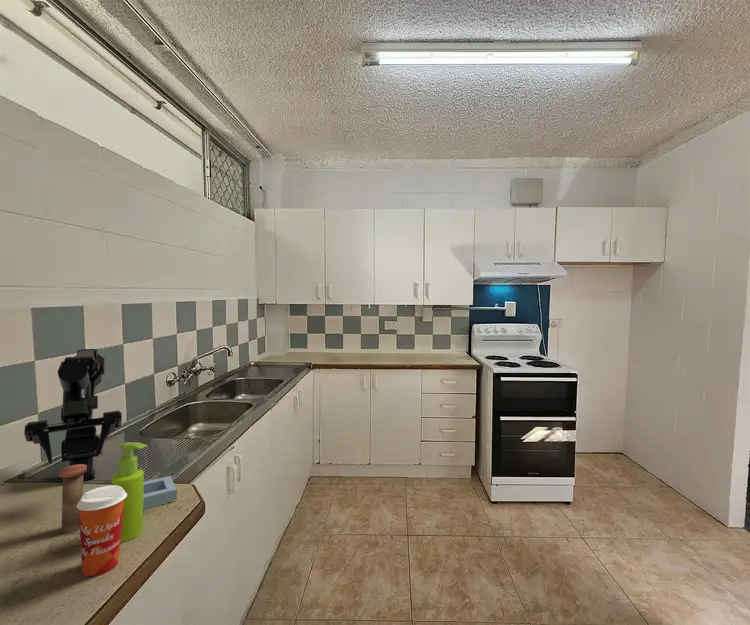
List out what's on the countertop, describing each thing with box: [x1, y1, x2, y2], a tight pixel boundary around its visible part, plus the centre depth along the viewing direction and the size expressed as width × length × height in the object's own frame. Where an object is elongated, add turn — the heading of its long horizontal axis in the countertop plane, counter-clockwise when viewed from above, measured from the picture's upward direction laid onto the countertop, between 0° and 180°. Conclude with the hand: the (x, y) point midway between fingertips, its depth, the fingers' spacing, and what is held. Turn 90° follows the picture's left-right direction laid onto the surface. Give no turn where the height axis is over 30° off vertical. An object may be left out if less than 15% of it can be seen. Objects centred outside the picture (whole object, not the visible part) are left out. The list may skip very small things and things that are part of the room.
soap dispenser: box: [111, 441, 148, 543], centre depth 81 cm, size 6×7×20 cm
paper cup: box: [77, 484, 127, 577], centre depth 71 cm, size 8×8×14 cm
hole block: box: [143, 475, 178, 511], centre depth 97 cm, size 10×10×3 cm
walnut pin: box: [58, 464, 87, 534], centre depth 83 cm, size 5×5×14 cm
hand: (75, 458), depth 89 cm, fingers open, 9 cm apart
